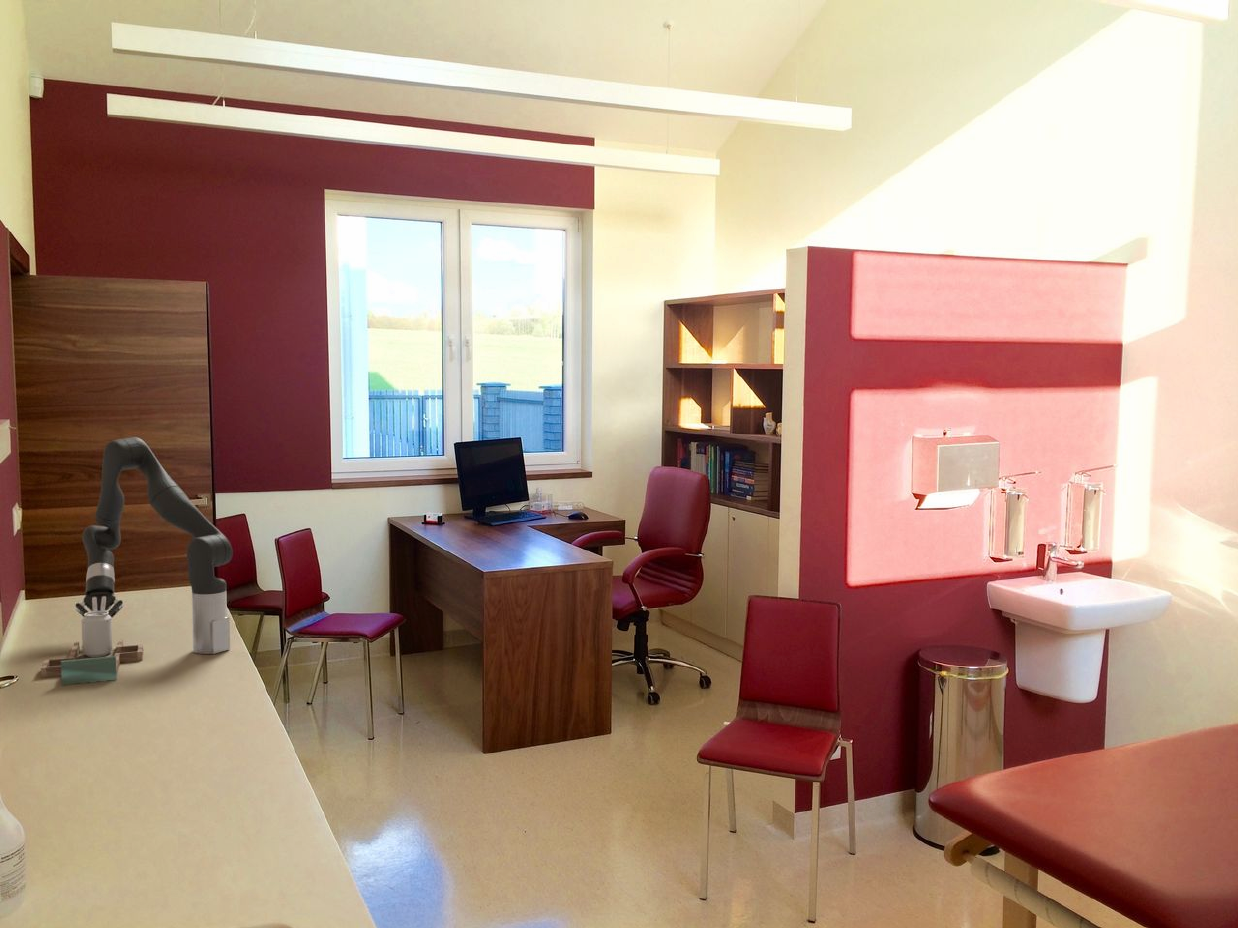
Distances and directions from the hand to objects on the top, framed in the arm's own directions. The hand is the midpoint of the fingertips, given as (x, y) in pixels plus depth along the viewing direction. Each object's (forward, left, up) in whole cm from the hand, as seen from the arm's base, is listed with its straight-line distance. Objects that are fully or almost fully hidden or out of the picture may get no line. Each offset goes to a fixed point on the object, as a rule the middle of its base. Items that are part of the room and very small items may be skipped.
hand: (98, 630), depth 288 cm
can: (-6, +5, -5) cm, 9 cm away
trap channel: (-14, +12, -5) cm, 19 cm away
